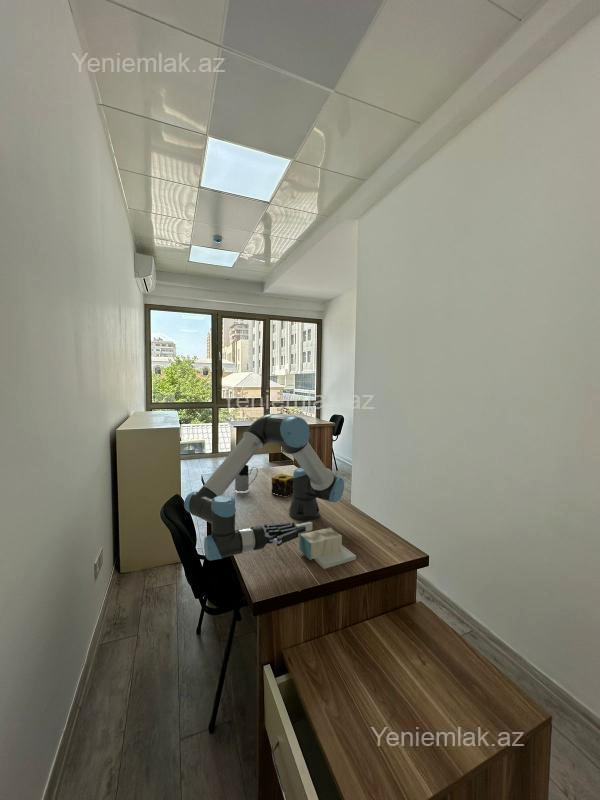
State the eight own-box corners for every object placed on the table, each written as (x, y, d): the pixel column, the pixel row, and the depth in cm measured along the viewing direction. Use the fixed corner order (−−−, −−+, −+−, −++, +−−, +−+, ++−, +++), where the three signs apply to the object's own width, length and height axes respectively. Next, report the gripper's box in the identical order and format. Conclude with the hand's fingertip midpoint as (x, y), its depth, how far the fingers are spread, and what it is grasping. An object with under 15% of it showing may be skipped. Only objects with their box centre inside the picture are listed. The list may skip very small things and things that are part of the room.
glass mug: (232, 489, 196) (232, 465, 195) (254, 486, 203) (254, 462, 202) (237, 494, 188) (237, 468, 187) (260, 490, 195) (260, 466, 194)
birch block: (299, 534, 125) (330, 527, 132) (299, 549, 125) (330, 541, 132) (310, 543, 118) (341, 535, 125) (309, 559, 118) (341, 551, 125)
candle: (295, 492, 193) (295, 476, 193) (285, 497, 185) (285, 480, 184) (281, 489, 199) (281, 473, 198) (271, 494, 190) (271, 477, 189)
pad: (300, 545, 131) (300, 542, 131) (329, 538, 138) (329, 535, 138) (324, 569, 115) (324, 564, 115) (355, 559, 122) (355, 555, 122)
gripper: (245, 541, 117) (302, 528, 128) (258, 559, 106) (320, 543, 117) (245, 520, 117) (303, 509, 128) (258, 536, 106) (320, 522, 117)
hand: (311, 525), depth 123 cm, fingers closed
